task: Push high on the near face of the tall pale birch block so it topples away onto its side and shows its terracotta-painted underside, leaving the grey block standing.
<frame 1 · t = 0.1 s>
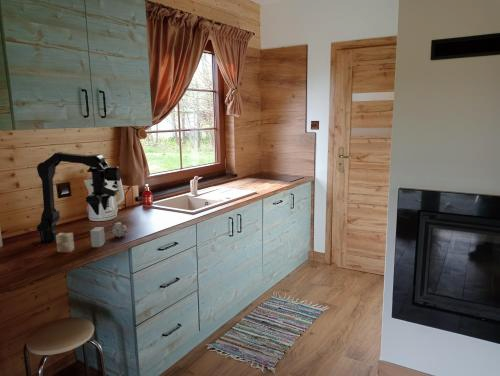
hand: (101, 212, 200), 15 cm above the countertop, tool pointing down, fingers open, 9 cm apart
grey knobbly lump: (119, 237, 209), on the countertop
grey block: (98, 245, 198), on the countertop
birch block: (66, 250, 190), on the countertop
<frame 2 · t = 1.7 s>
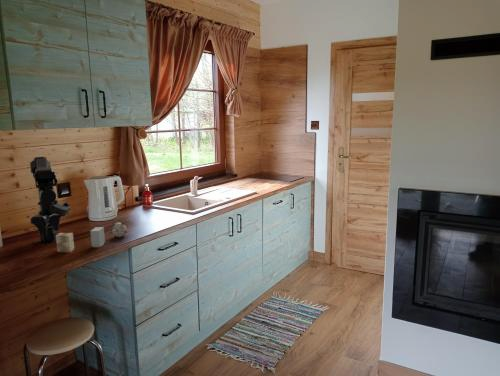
hand: (51, 233, 177), 12 cm above the countertop, tool pointing down, fingers open, 9 cm apart
nothing on the countertop moved.
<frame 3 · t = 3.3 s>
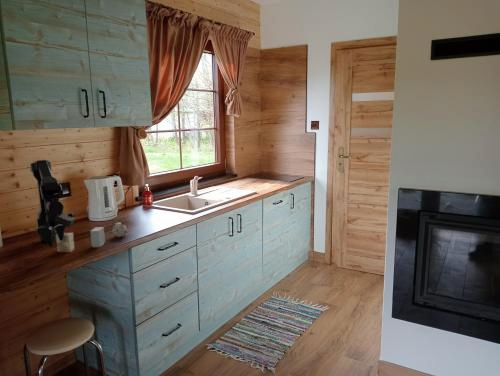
hand: (56, 243, 182), 6 cm above the countertop, tool pointing down, fingers open, 8 cm apart
birch block: (66, 250, 190), on the countertop, touching gripper
everything else where it was.
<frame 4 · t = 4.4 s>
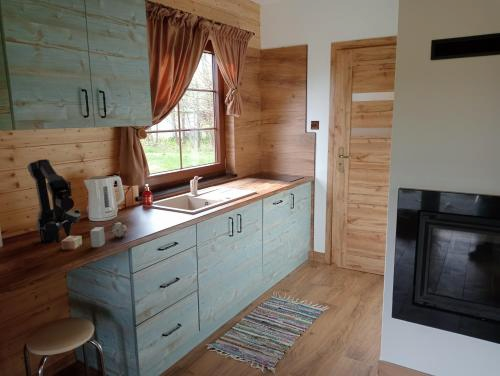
hand: (63, 239, 188), 6 cm above the countertop, tool pointing down, fingers open, 9 cm apart
birch block: (67, 245, 192), point 2 cm above the countertop, tilted 90°
everything else where it was.
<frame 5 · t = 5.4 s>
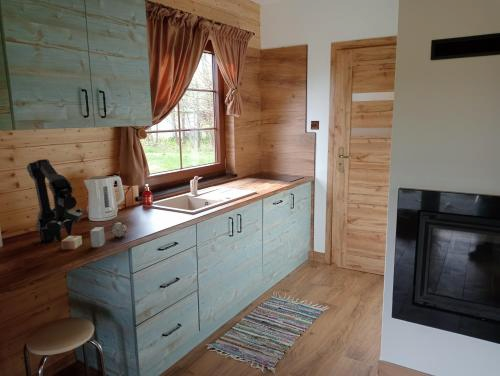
hand: (64, 238, 189), 6 cm above the countertop, tool pointing down, fingers open, 9 cm apart
nothing on the countertop moved.
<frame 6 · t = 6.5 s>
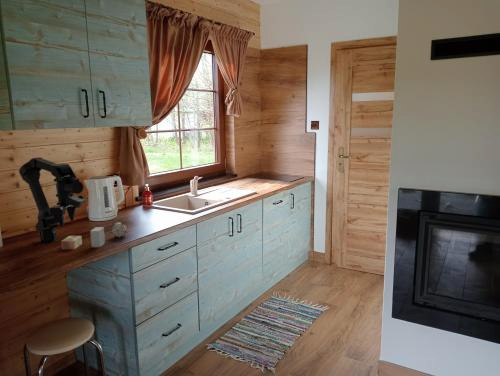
hand: (67, 223, 195), 11 cm above the countertop, tool pointing down, fingers open, 9 cm apart
nothing on the countertop moved.
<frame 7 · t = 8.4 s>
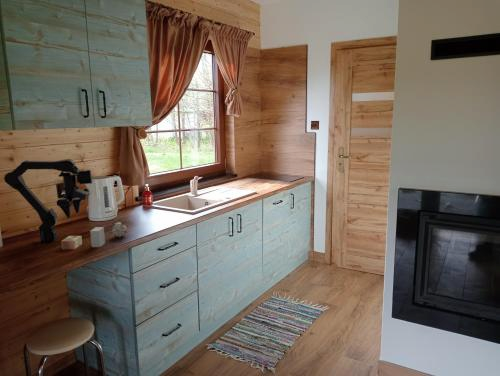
hand: (73, 215, 206), 12 cm above the countertop, tool pointing down, fingers open, 9 cm apart
nothing on the countertop moved.
at the end: birch block tilted 90°; birch block inside the target area (1.5 cm from its centre), point 1.9 cm above the countertop; grey block moved 0.1 cm from its start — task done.
